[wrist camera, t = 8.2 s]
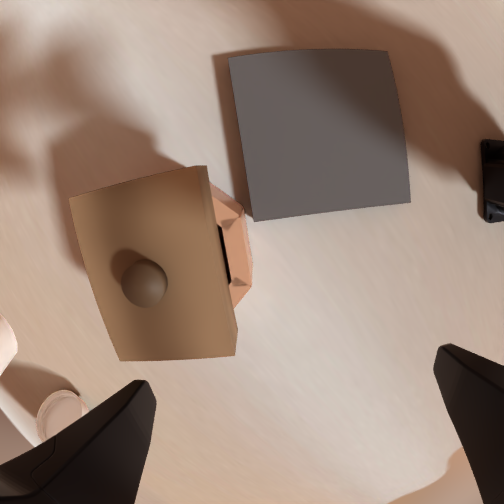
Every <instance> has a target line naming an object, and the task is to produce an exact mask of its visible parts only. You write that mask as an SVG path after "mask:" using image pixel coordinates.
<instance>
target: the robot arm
mask: <svg viewBox="0 0 504 504" xmlns="http://www.w3.org/2000/svg"><path fill="white" fill-rule="evenodd" d="M486 145H487V148H486ZM481 154H482V166H483V186H484V220H485V221H486V222H488V223H495V222H501V221H504V141H500V140H490V139H483V140H482V141H481ZM489 215H490V216H489ZM433 370H434V375H435V377H436V380H437V383H438V386H439V389H440V391H441V394H442V397H443V400H444V403H445V406H446V409H447V411H448V414H449V416H450V418H451V420H452V423H453V425H454V427H455V429H456V432H457V434H458V436H459V439H460V441H461V443H462V446H463V448H464V451H465V453H466V456H467V458H468V461H469V463H470V466H471V469H472V471H473V474H474V477H475V479H476V482H477V485H478V488H479V491H480V494H481V497H482V500H483V503H484V504H504V366H503V365H500V364H498V363H496V362H493V361H491V360H489V359H486V358H484V357H482V356H479V355H477V354H475V353H472V352H470V351H468V350H465V349H463V348H461V347H458V346H456V345H454V344H451V343H449V344H445V345H442V346H440V347H439V348H438V350H437V355H436V359H435V363H434V367H433ZM155 411H156V398H155V396H154V394H153V392H152V389H151V387H150V385H149V383H148V382H147V381H146V380H134V381H132V382H131V383H129V384H128V385H127V386H125V387H124V388H122V389H121V390H120V391H118V392H117V393H115V394H114V395H112V396H111V397H110V398H108V399H107V400H105V401H104V402H102V403H101V404H100V405H98V406H97V407H95V408H94V409H92V410H91V411H89V412H88V413H87V414H85V415H84V416H82V417H81V418H79V419H78V420H76V421H75V422H73V423H72V424H70V425H69V426H67V427H66V428H64V429H63V430H61V431H60V432H58V433H57V434H56V435H54V436H52V437H51V438H49V439H48V440H46V441H45V442H43V443H41V444H40V445H38V446H36V447H35V448H33V449H31V450H29V451H27V452H25V453H24V454H22V455H20V456H18V457H16V458H14V459H12V460H10V461H8V462H5V463H3V464H2V465H0V504H134V503H135V499H136V495H137V491H138V487H139V483H140V480H141V476H142V472H143V468H144V465H145V461H146V457H147V454H148V450H149V446H150V442H151V436H152V429H153V423H154V417H155Z"/></svg>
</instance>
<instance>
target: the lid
mask: <svg viewBox="0 0 504 504" xmlns="http://www.w3.org/2000/svg"><path fill="white" fill-rule="evenodd" d="M68 199H69V204H70V209H71V214H72V218H73V223H74V227H75V231H76V235H77V239H78V243H79V247H80V251H81V254H82V258H83V261H84V265H85V268H86V271H87V275H88V278H89V281H90V284H91V287H92V290H93V293H94V296H95V299H96V302H97V305H98V308H99V310H100V313H101V316H102V318H103V321H104V324H105V326H106V329H107V331H108V334H109V336H110V339H111V341H112V344H113V346H114V348H115V351H116V353H117V355H118V358H119V360H120V361H164V360H186V359H202V358H215V357H227V356H235V350H236V341H237V332H238V328H237V323H236V319H235V314H234V309H233V304H232V299H231V294H230V289H229V284H228V279H227V274H226V269H225V264H224V259H223V254H222V249H221V243H220V238H219V233H218V227H217V222H216V217H215V211H214V205H213V200H212V194H211V189H210V183H209V177H208V171H207V166H192V167H187V168H182V169H177V170H173V171H168V172H164V173H159V174H155V175H151V176H147V177H143V178H139V179H135V180H131V181H127V182H123V183H119V184H116V185H112V186H109V187H105V188H101V189H98V190H95V191H91V192H88V193H84V194H81V195H78V196H75V197H72V198H68Z"/></svg>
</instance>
